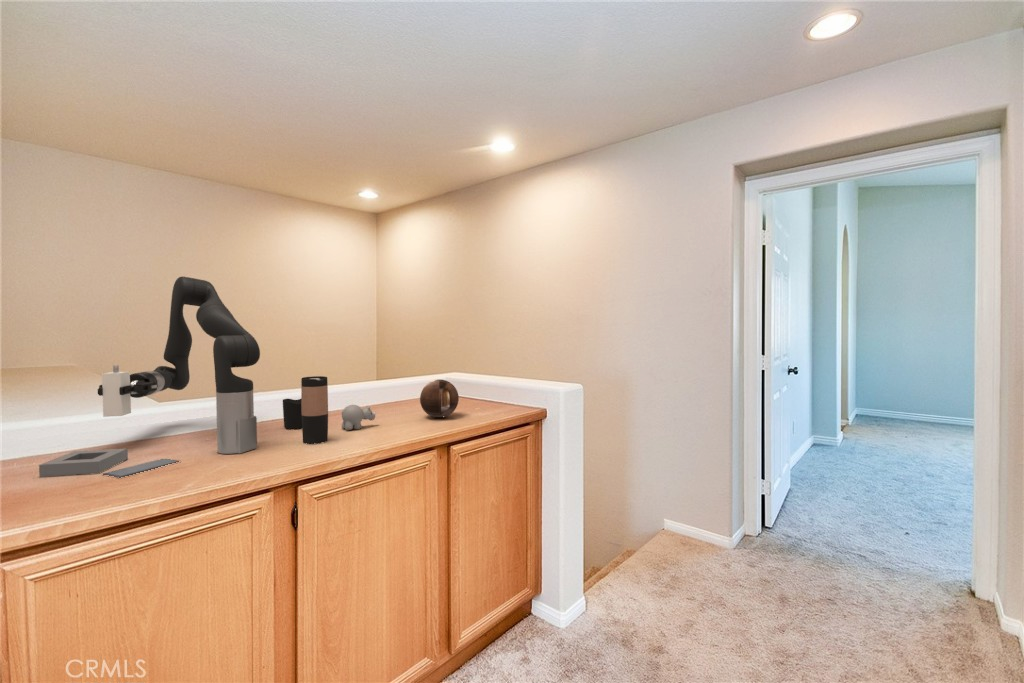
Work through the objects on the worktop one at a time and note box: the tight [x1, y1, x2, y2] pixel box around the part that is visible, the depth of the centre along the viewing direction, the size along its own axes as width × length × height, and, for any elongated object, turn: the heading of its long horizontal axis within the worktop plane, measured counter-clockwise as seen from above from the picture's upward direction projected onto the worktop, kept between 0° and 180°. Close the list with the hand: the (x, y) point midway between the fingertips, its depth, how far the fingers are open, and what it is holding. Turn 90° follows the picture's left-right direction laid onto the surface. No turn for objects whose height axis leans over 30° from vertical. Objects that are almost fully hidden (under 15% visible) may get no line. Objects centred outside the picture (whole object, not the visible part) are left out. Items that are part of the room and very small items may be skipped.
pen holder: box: [282, 398, 302, 430], centre depth 163 cm, size 9×9×10 cm
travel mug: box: [300, 375, 329, 445], centre depth 142 cm, size 8×8×20 cm
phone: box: [102, 458, 180, 479], centre depth 116 cm, size 7×14×1 cm, turn 159°
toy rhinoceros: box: [341, 404, 377, 431], centre depth 161 cm, size 7×12×8 cm, turn 126°
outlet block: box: [38, 448, 129, 478], centre depth 116 cm, size 12×12×3 cm
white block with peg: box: [101, 364, 132, 418], centre depth 129 cm, size 4×4×14 cm
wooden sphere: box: [419, 379, 460, 418], centre depth 180 cm, size 15×15×15 cm
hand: (110, 391), depth 126 cm, fingers closed on white block with peg, 4 cm apart
